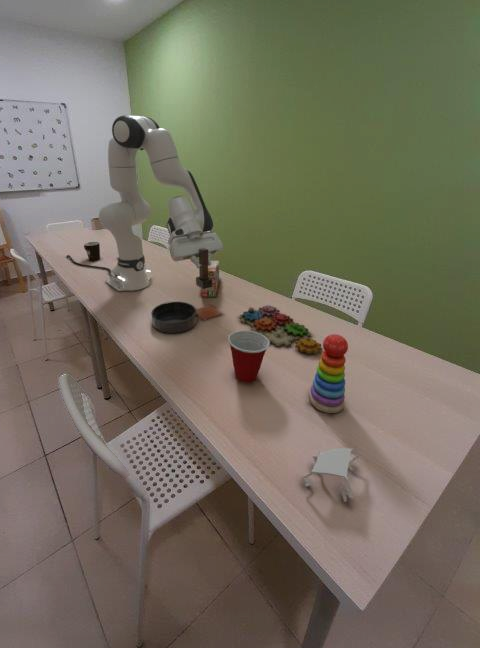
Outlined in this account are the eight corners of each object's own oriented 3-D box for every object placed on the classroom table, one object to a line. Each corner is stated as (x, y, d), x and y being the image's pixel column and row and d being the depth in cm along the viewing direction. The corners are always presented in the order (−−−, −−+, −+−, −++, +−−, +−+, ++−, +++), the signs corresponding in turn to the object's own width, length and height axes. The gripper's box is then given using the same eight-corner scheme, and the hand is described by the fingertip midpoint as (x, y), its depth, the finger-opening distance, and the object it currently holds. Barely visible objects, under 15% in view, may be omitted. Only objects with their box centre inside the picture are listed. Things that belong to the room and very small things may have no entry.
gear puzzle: (334, 350, 92) (336, 338, 91) (293, 365, 86) (295, 353, 85) (270, 308, 118) (271, 299, 117) (235, 317, 112) (235, 308, 110)
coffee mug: (103, 260, 180) (101, 244, 176) (89, 262, 176) (86, 246, 172) (98, 255, 189) (96, 239, 185) (84, 257, 185) (81, 242, 181)
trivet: (193, 311, 118) (193, 310, 117) (210, 306, 121) (210, 305, 121) (203, 320, 111) (203, 318, 111) (221, 314, 115) (221, 313, 114)
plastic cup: (274, 375, 83) (278, 338, 78) (251, 395, 76) (254, 357, 71) (242, 358, 90) (244, 323, 85) (218, 375, 83) (219, 339, 78)
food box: (206, 278, 149) (206, 254, 144) (219, 278, 148) (219, 254, 143) (200, 296, 130) (200, 270, 125) (215, 297, 129) (215, 270, 124)
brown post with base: (196, 284, 112) (195, 248, 106) (205, 282, 113) (204, 246, 108) (202, 289, 108) (202, 251, 102) (212, 286, 109) (212, 249, 104)
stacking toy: (348, 400, 73) (363, 335, 66) (337, 420, 68) (352, 352, 60) (315, 386, 78) (326, 324, 71) (303, 403, 73) (313, 338, 65)
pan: (143, 324, 110) (142, 313, 108) (174, 307, 121) (173, 297, 119) (174, 339, 100) (174, 328, 98) (205, 320, 111) (205, 309, 109)
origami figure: (341, 520, 50) (347, 502, 48) (296, 482, 56) (299, 465, 54) (371, 474, 57) (377, 456, 55) (328, 444, 62) (332, 427, 60)
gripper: (211, 234, 118) (225, 265, 114) (163, 242, 109) (176, 275, 105) (217, 225, 113) (232, 256, 109) (167, 233, 104) (181, 267, 100)
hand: (204, 266), depth 107 cm, fingers closed on brown post with base, 2 cm apart
